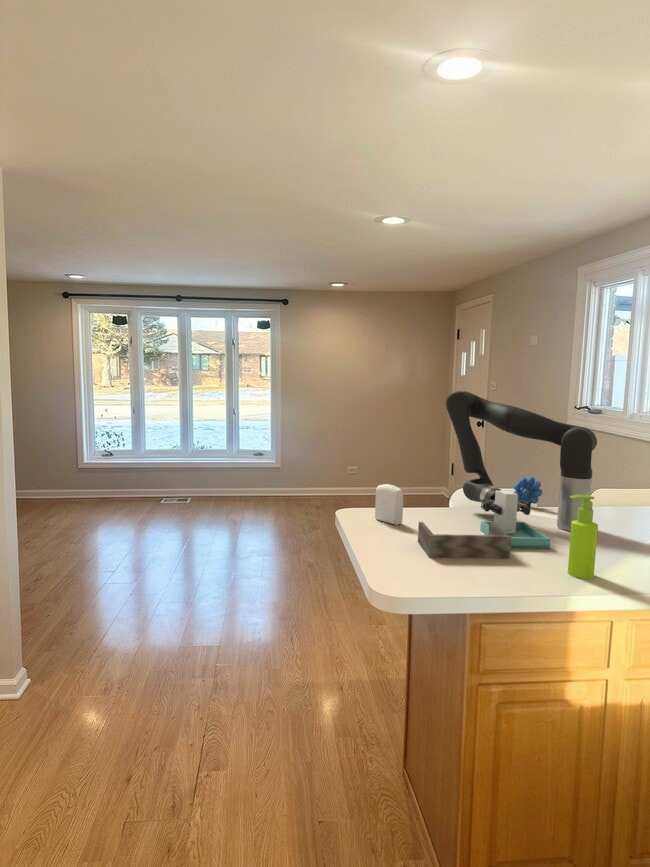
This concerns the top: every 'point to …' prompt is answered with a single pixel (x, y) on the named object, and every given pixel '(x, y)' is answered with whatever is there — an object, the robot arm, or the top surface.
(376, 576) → the top surface
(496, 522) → the skincare box
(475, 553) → the bay
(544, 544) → the tray
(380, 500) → the photo printer
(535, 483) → the blue knobbly flower shape
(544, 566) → the top surface
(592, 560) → the soap dispenser
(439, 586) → the top surface
